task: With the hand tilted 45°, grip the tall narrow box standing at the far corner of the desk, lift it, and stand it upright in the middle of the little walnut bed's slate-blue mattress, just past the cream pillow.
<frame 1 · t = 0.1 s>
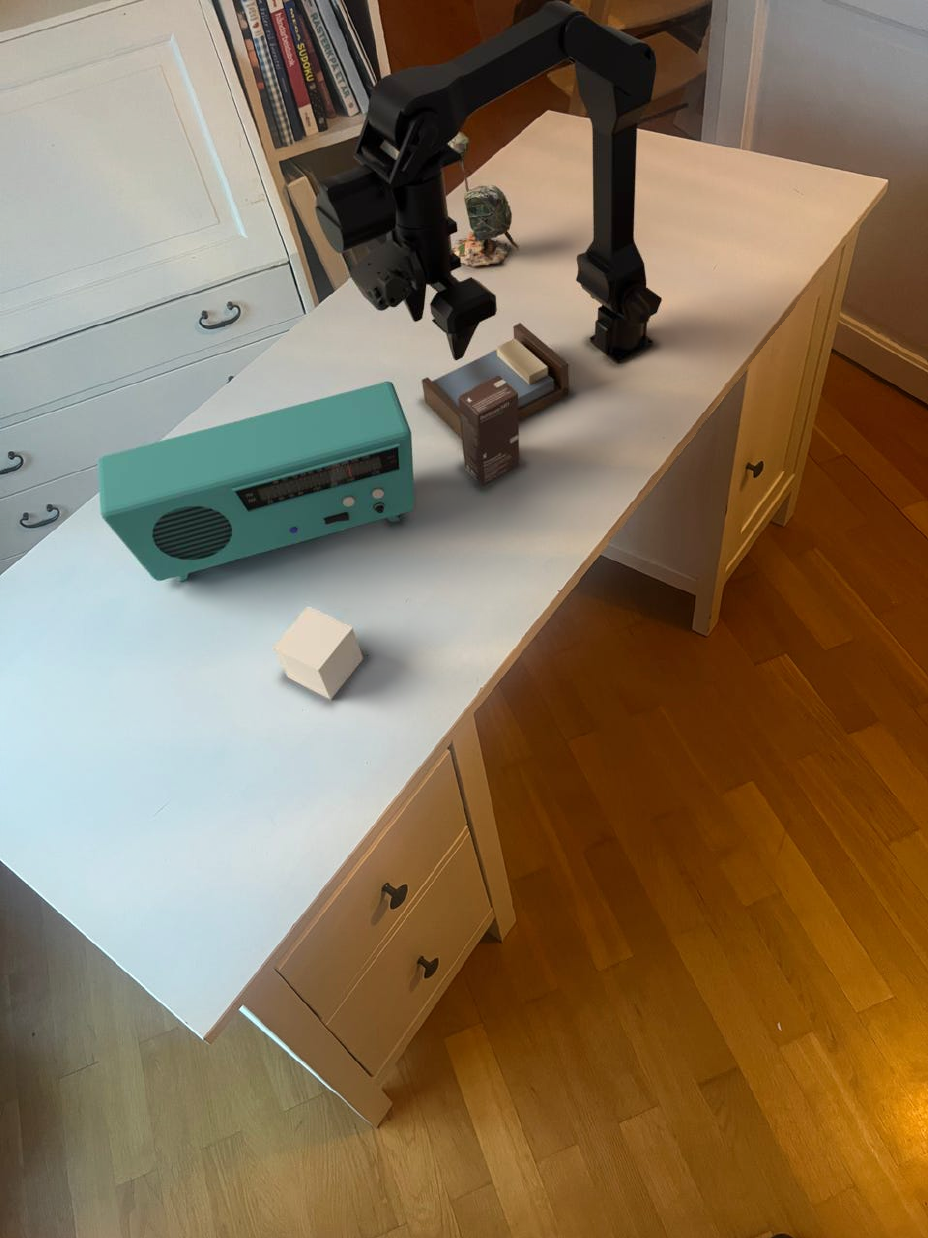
hand: (437, 338, 105), 15 cm above the table, tool pointing down, fingers open, 9 cm apart
box: (493, 468, 112), on the table
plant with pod: (485, 257, 139), on the table
adhesive note: (325, 668, 97), on the table
bed: (496, 398, 119), on the table
radio: (287, 536, 109), on the table
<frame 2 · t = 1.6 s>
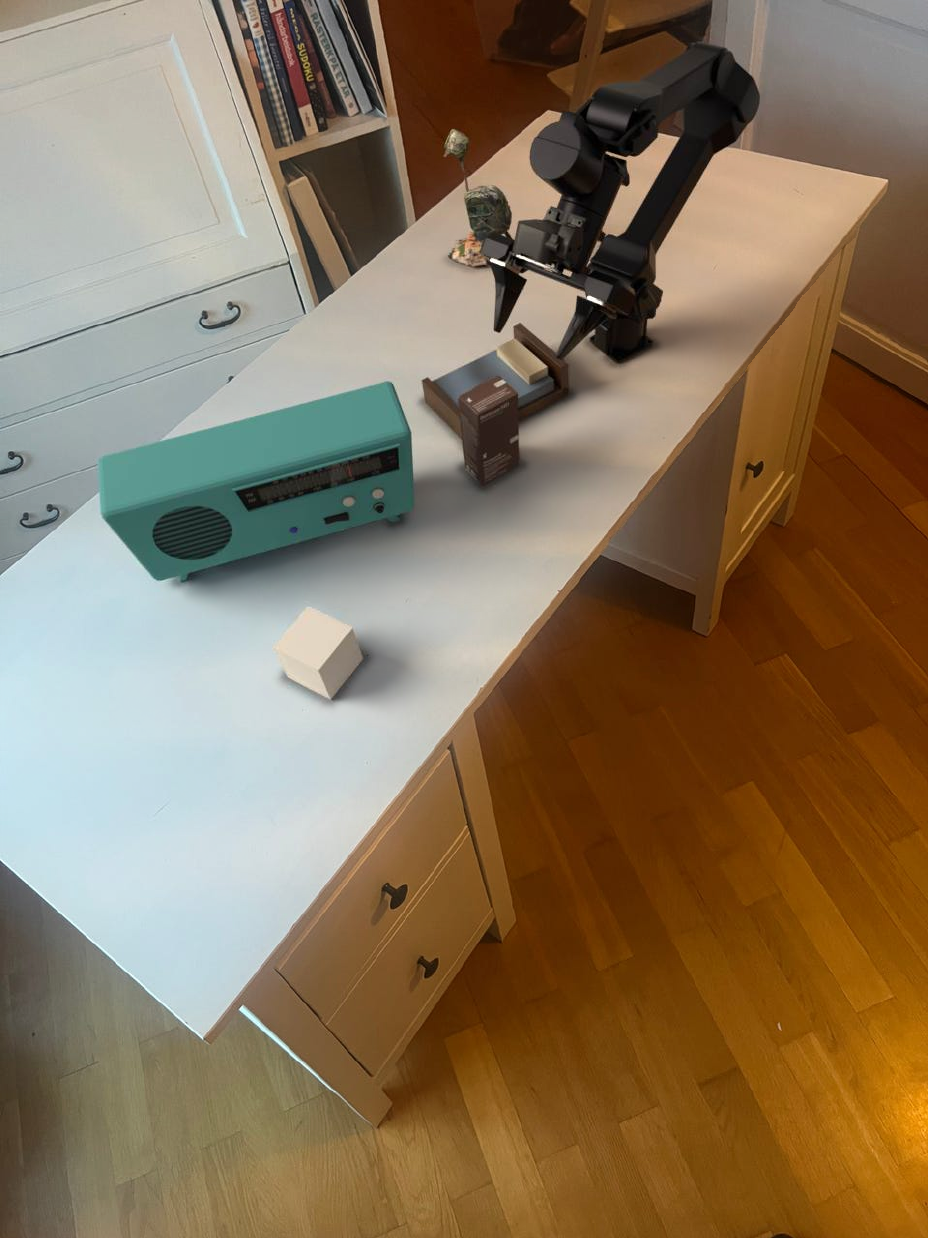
hand: (527, 345, 104), 13 cm above the table, tool tilted 45°, fingers open, 9 cm apart
nothing on the table moved.
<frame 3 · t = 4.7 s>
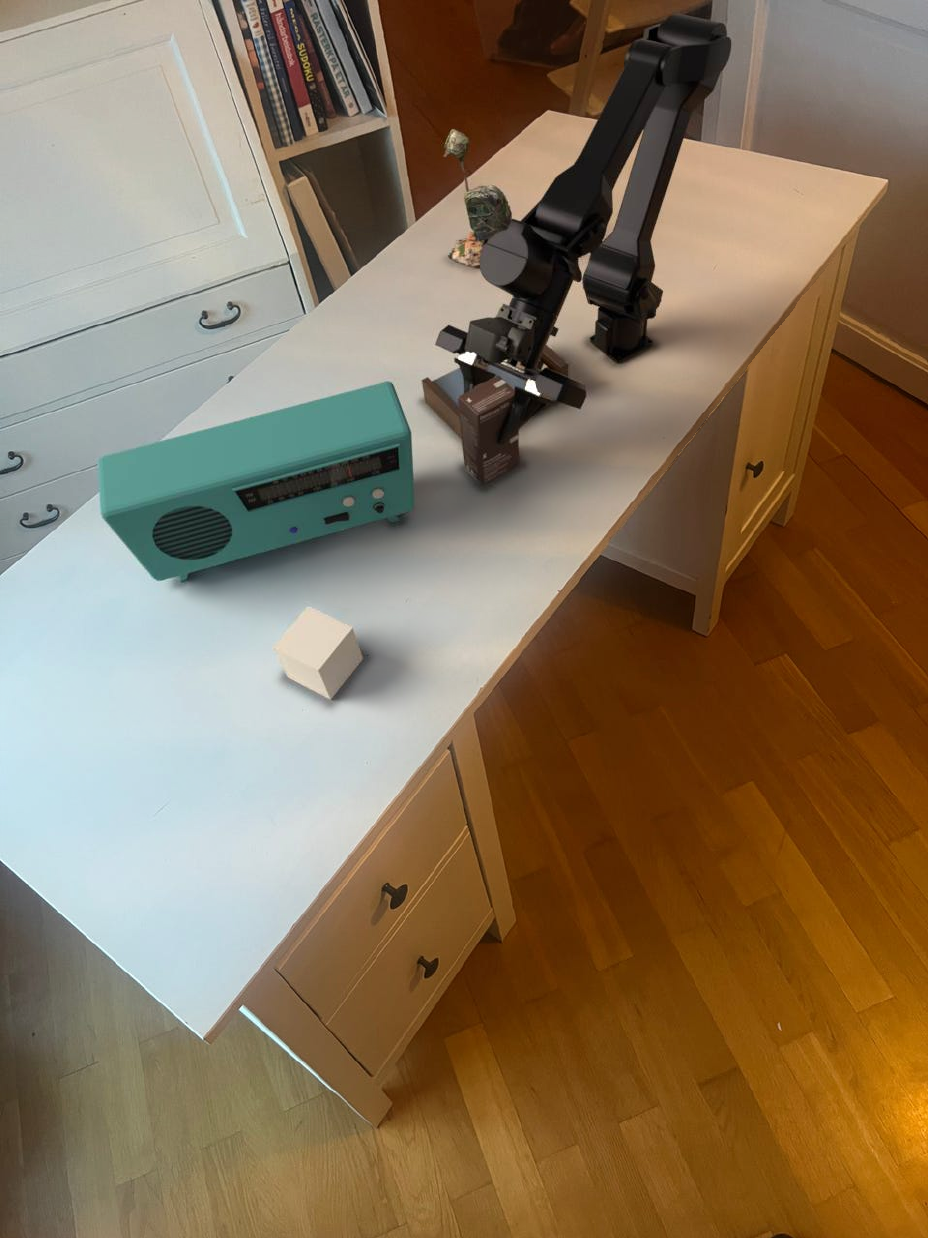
hand: (482, 434, 106), 7 cm above the table, tool tilted 45°, fingers closed on box, 5 cm apart
box: (493, 468, 112), on the table, touching gripper
everything else where it was.
when the fingers open (10 cm above the table, at t = 10.3 s): box stays where it is, resting on bed.
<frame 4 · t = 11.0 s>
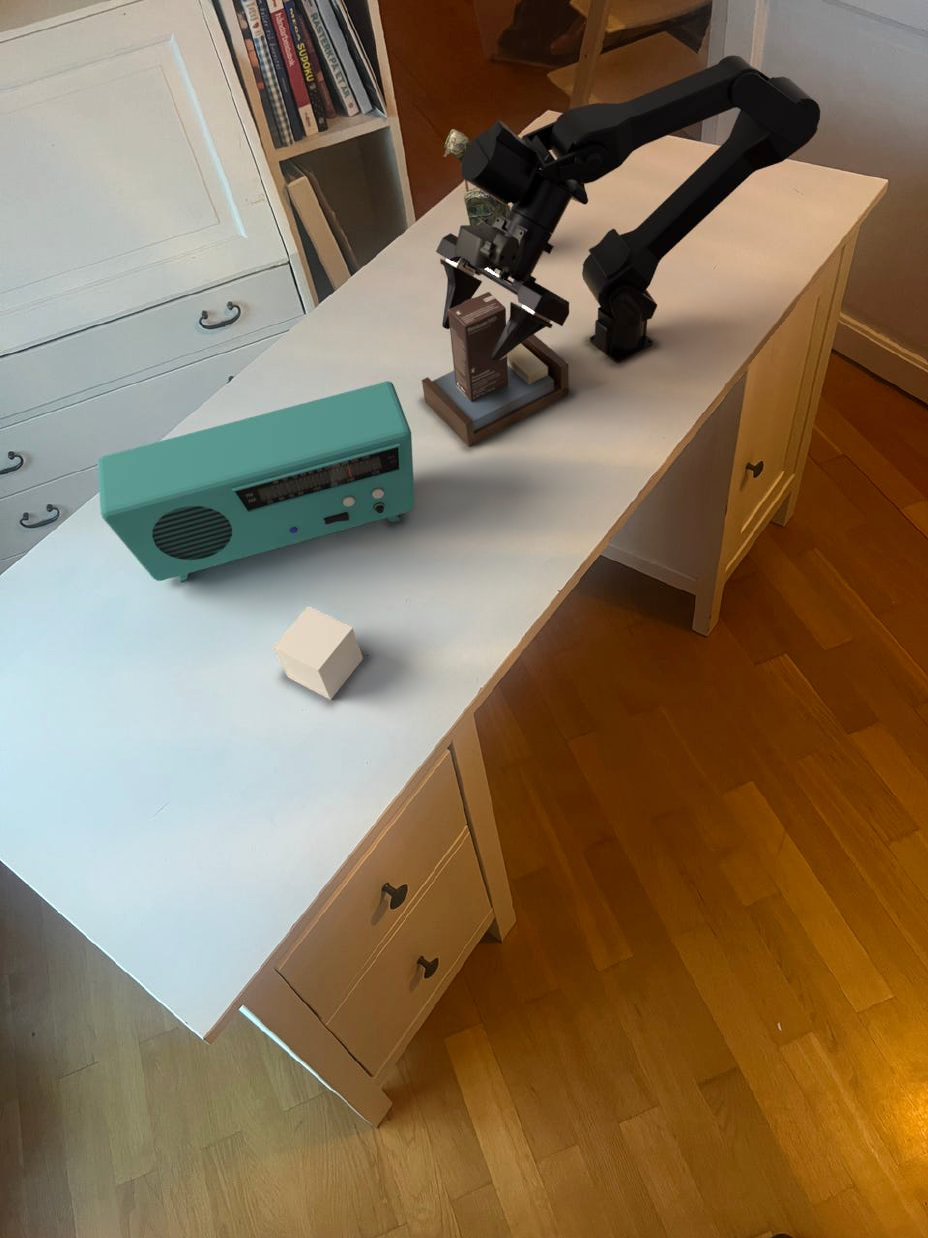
hand: (468, 343, 110), 11 cm above the table, tool tilted 45°, fingers open, 9 cm apart
box: (483, 387, 116), point 3 cm above the table, touching bed
everything else where it was.
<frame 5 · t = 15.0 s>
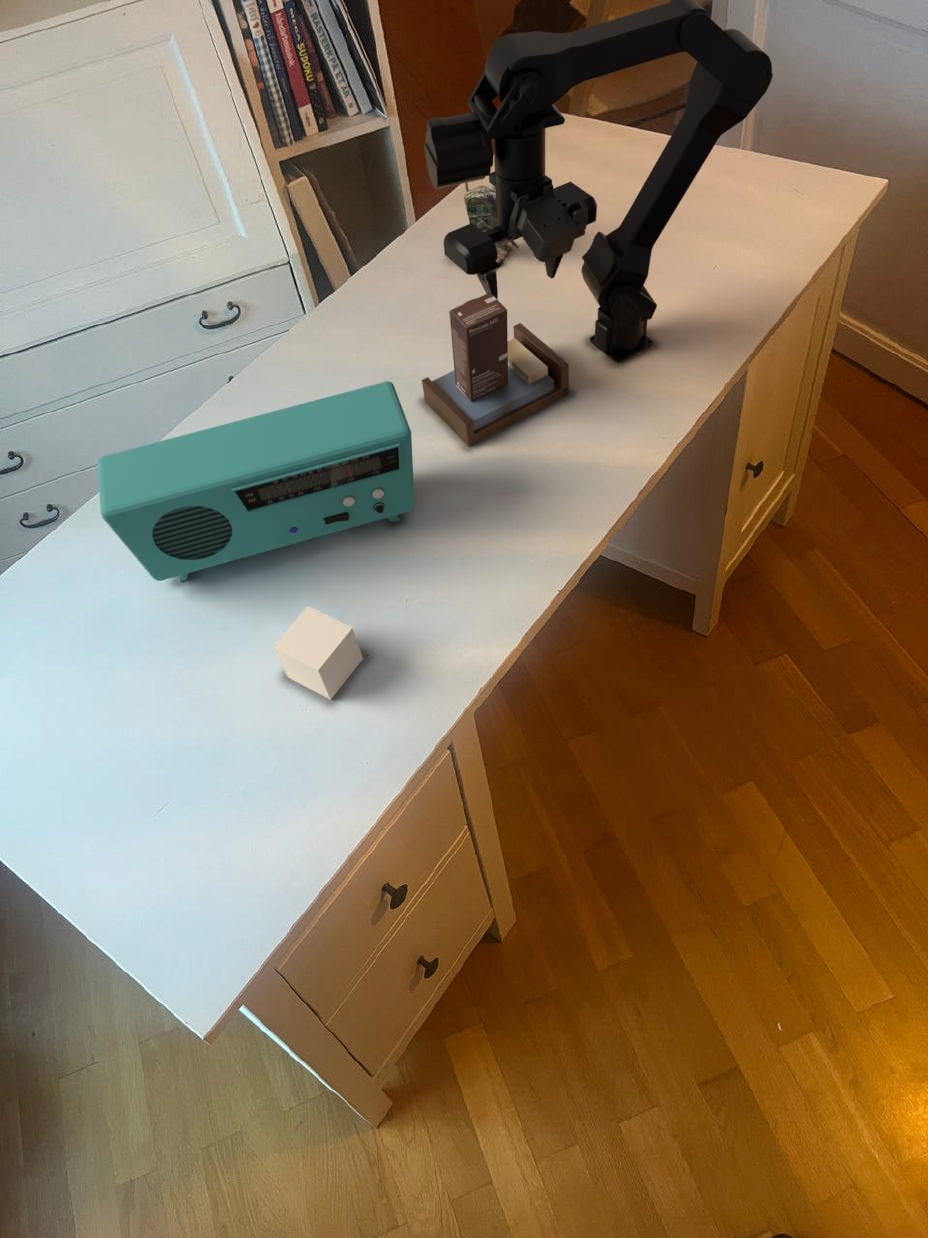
hand: (522, 289, 112), 12 cm above the table, tool pointing down, fingers open, 8 cm apart
box: (483, 386, 116), point 3 cm above the table, touching bed, gripper
everything else where it was.
at the end: box inside the target area on the bed (0.2 cm from its centre), point 3.2 cm above the bed's base; box tilted 2°; the gripper is holding nothing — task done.
